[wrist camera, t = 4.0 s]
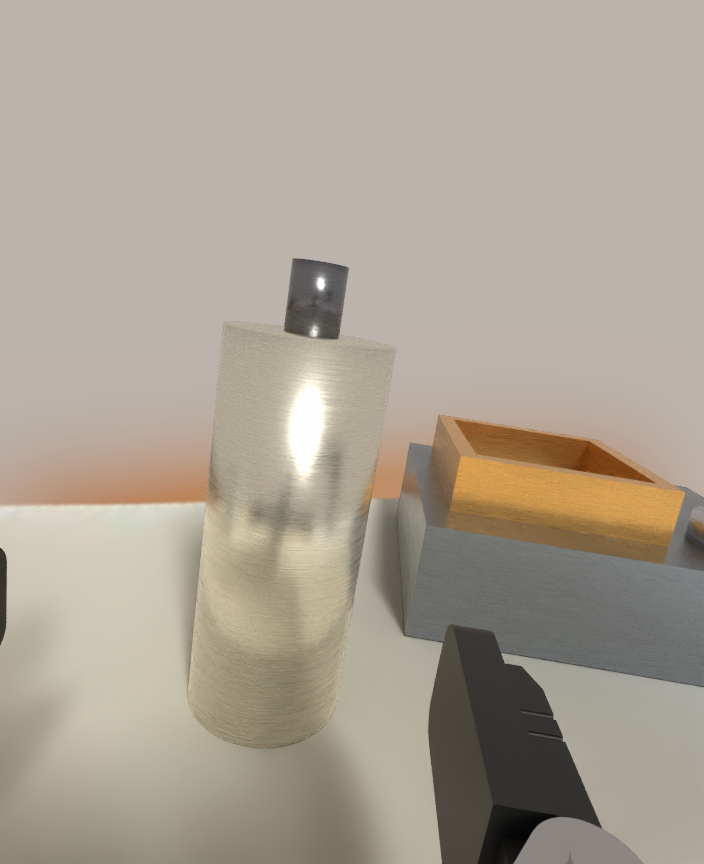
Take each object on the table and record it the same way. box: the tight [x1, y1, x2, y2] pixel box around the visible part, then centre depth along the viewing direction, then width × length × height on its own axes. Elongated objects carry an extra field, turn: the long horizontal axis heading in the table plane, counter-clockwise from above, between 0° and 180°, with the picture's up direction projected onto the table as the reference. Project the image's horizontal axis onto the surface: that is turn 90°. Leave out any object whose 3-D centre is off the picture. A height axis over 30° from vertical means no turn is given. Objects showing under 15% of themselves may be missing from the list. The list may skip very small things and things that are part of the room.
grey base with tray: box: [397, 415, 704, 686], centre depth 28 cm, size 18×14×8 cm
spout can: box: [188, 259, 396, 748], centre depth 17 cm, size 5×5×14 cm
